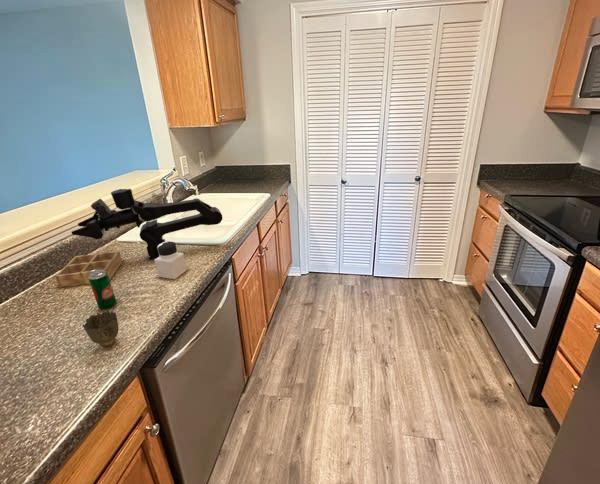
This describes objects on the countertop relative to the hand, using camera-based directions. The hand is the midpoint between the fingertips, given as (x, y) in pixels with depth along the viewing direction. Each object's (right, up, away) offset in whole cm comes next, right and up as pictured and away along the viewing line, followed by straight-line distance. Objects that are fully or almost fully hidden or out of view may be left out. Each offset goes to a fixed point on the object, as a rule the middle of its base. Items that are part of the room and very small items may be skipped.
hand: (75, 228), depth 118 cm
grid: (+5, -17, +3) cm, 17 cm away
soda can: (+23, -25, -18) cm, 38 cm away
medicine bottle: (+36, -16, 0) cm, 40 cm away
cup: (+32, -31, -34) cm, 56 cm away
